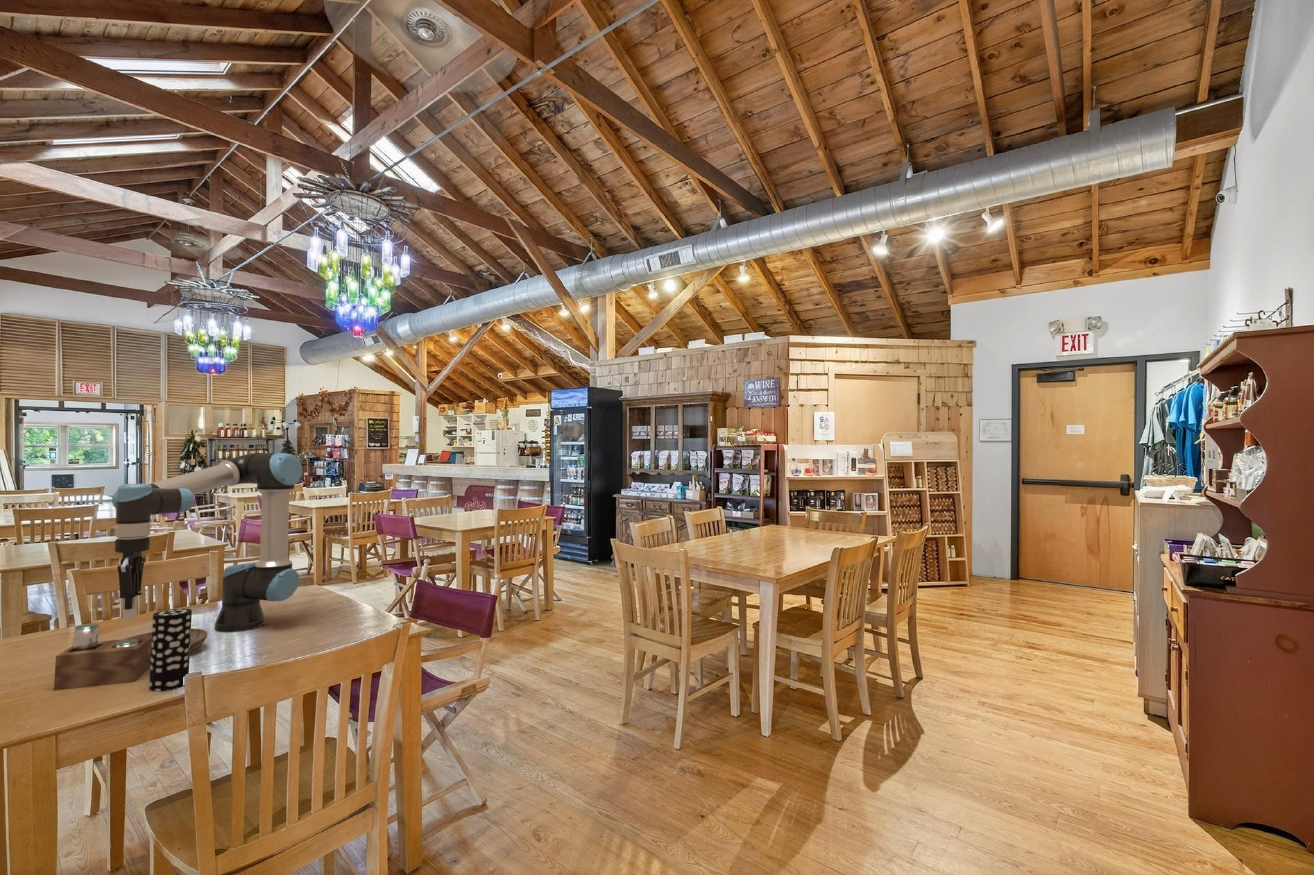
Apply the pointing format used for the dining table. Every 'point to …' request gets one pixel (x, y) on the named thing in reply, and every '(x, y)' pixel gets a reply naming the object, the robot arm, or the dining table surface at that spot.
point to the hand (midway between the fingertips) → (129, 619)
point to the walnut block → (102, 664)
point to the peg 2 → (127, 643)
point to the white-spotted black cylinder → (170, 649)
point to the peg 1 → (86, 637)
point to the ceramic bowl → (195, 640)
